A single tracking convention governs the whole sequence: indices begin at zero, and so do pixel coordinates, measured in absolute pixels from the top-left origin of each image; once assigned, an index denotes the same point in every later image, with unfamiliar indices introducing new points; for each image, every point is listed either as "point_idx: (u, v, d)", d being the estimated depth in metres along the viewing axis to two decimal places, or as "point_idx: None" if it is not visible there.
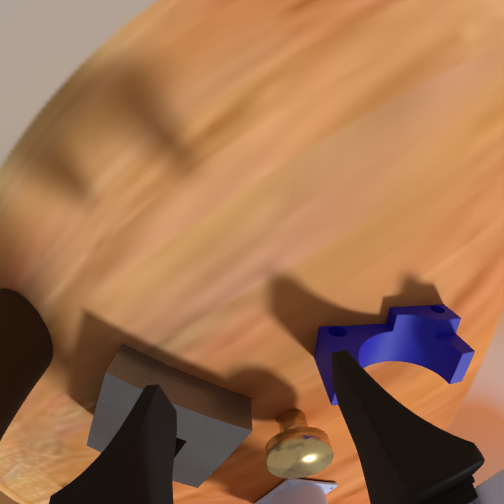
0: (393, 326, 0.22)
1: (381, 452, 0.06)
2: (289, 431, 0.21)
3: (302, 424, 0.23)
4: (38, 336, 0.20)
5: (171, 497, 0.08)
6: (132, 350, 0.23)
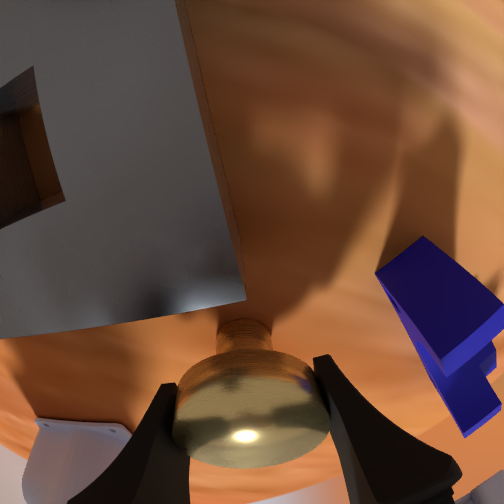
0: None
1: (355, 461, 0.06)
2: (290, 359, 0.10)
3: None
4: None
5: (188, 497, 0.08)
6: None
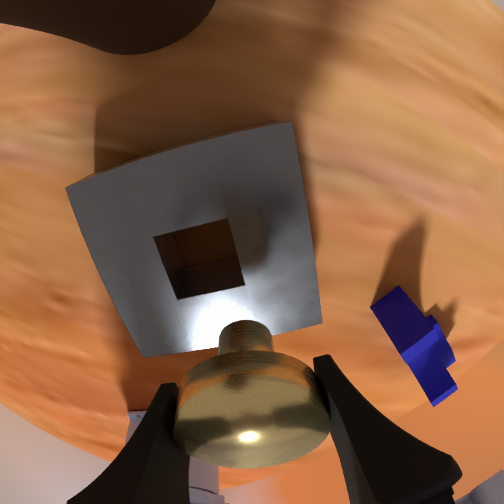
0: None
1: (355, 460, 0.06)
2: (289, 360, 0.10)
3: None
4: (201, 12, 0.12)
5: (188, 497, 0.08)
6: None
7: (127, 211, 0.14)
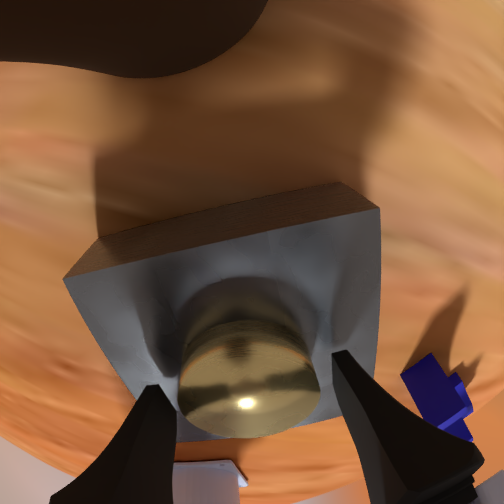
0: None
1: (381, 452, 0.06)
2: (281, 329, 0.11)
3: None
4: (249, 24, 0.09)
5: (171, 497, 0.08)
6: None
7: (151, 316, 0.11)
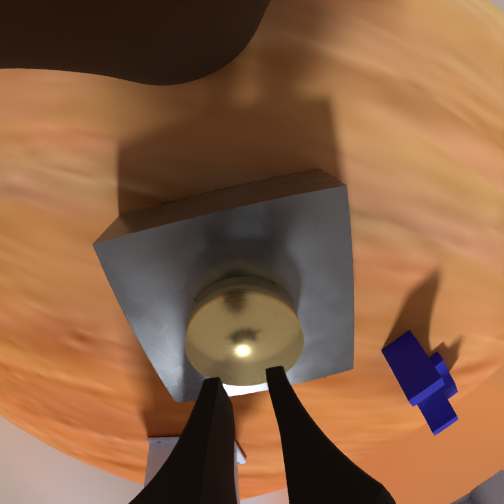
0: (433, 366, 0.24)
1: None
2: (270, 284, 0.14)
3: None
4: (244, 44, 0.12)
5: (235, 495, 0.08)
6: None
7: (165, 273, 0.14)
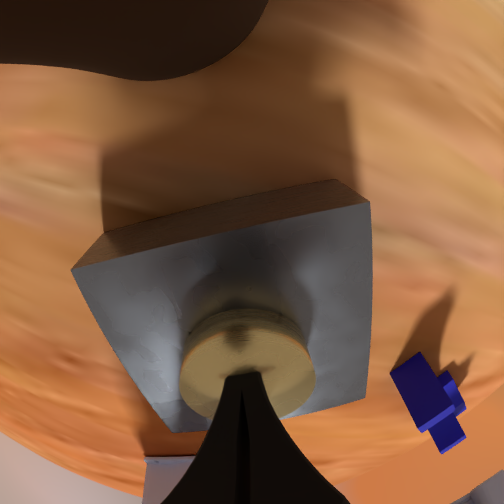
0: (443, 385, 0.21)
1: None
2: (278, 317, 0.12)
3: None
4: (247, 30, 0.09)
5: None
6: None
7: (155, 304, 0.12)
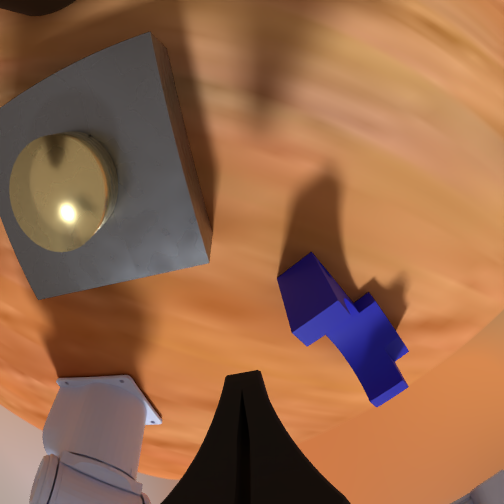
0: (362, 309, 0.21)
1: None
2: (85, 135, 0.12)
3: None
4: None
5: None
6: (169, 62, 0.14)
7: (14, 140, 0.12)
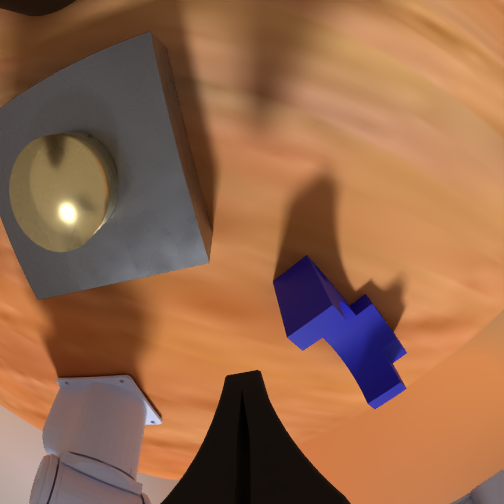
0: (359, 311, 0.21)
1: None
2: (85, 135, 0.12)
3: None
4: None
5: None
6: (169, 62, 0.14)
7: (14, 140, 0.12)
